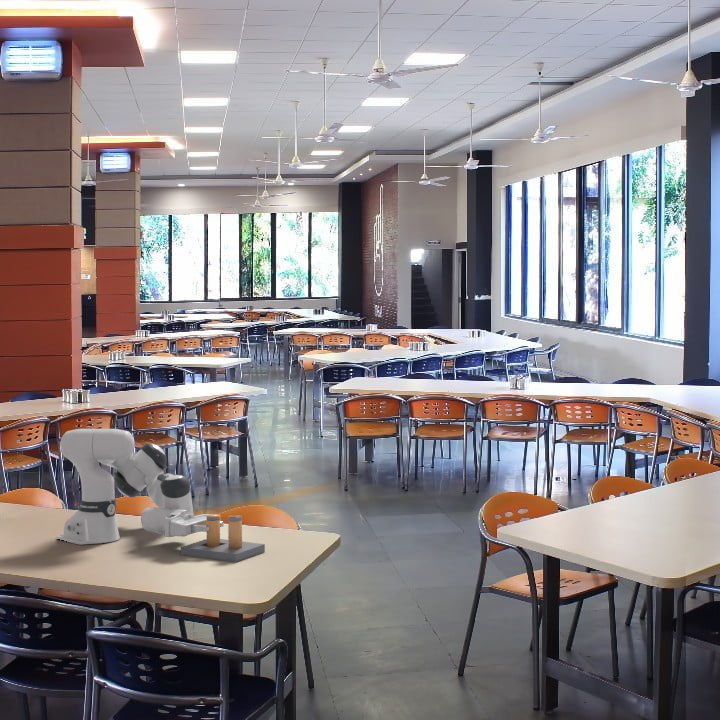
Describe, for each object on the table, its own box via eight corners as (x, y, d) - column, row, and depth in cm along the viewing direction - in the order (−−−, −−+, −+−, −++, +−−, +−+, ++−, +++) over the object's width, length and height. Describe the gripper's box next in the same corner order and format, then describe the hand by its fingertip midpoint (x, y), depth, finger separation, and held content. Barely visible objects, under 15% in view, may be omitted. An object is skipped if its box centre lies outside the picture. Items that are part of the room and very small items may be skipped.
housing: (180, 554, 324) (180, 516, 323) (210, 545, 338) (210, 508, 337) (236, 561, 313) (235, 522, 313) (264, 551, 327) (264, 513, 327)
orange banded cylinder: (204, 552, 326) (204, 516, 326) (209, 550, 330) (209, 514, 330) (217, 553, 325) (217, 516, 325) (222, 550, 329) (222, 514, 329)
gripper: (201, 526, 343) (233, 530, 336) (162, 537, 325) (195, 542, 318) (200, 508, 342) (233, 511, 336) (161, 518, 325) (195, 522, 318)
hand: (215, 526), depth 327 cm, fingers open, 7 cm apart
